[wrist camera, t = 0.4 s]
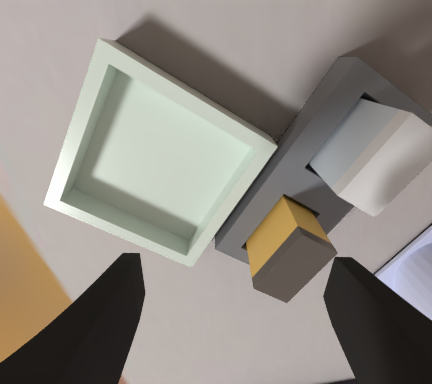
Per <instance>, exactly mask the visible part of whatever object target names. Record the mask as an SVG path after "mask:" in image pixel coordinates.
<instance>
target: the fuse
mask: <svg viewBox="0 0 432 384" xmlns="http://www.w3.org/2000/svg"><path fill="white" fill-rule="evenodd" d="M431 161H432V127H430V126H429V125H428V124H426V123H425V122H424V121H422V120H421V119H420V118H418V117H417V116H416V115H415V114H413V113H411V112H407V111H404V110H400V109H396V108H393V107H389V106H386V105H382V104H379V103H375V102H371V101H368V100H364V99H361V98H359V100H358V101H357V102H356V103H355V105H354V106H353V107H352V108H351V110H350V111H349V112H348V114H347V115H346V116H345V117H344V119H343V120H342V121H341V122H340V124H339V125H338V126H337V127H336V129H335V130H334V131H333V132H332V134H331V135H330V136H329V137H328V139H327V140H326V141H325V143H324V144H323V145H322V146H321V148H320V149H319V150H318V151H317V153H316V154H315V155H314V156H313V158H312V159H311V160H310V161H309V164H310V165H311V167H312V168H313V169H314V170H315V171H316V172H317V173H318V174H319V176H320V177H321V178H322V179H323V180H324V181H325V182H326V183H327V184H328V186H329V187H330V188H331V189H332V190H333V191H334V192H335V193H336V194H337V196H339V197H340V198H342V199H344V200H346V201H347V202H349V203H351V204H352V205H354V206H356V207H357V208H359V209H361V210H363V211H364V212H366V213H368V214H369V215H371V216H373V217H375V216H376V215H377V214H378V213H379V212H381V211H382V210H383V209H384V208H385V207H386V206H387V205H388V204H389V203H390V202H391V201H392V200H393V199H394V198H395V197H396V196H397V195H398V194H399V193H400V192H401V191H402V190H403V189H404V188H405V187H406V186H407V185H408V184H409V183H410V182H411V181H412V180H413V179H414V178H415V177H416V176H417V175H418V174H419V173H420V172H421V171H422V170H423V169H424V168H425V167H426V166H427V165H428V164H429V163H430V162H431Z"/></svg>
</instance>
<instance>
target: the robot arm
mask: <svg viewBox="0 0 432 384" xmlns="http://www.w3.org/2000/svg"><path fill="white" fill-rule="evenodd" d="M144 297H145V287H144V280H143V273H142V266H141V259H140V253H123V254H122V255H120V256H119V257H118V258H117V259H116V260H115V261H114V263H113V264H112V265H111V266H110V267H109V268H108V269H107V270H106V271H105V272H104V273H103V274H102V275H101V276H100V277H99V278H98V279H97V280H96V281H95V282H94V283H93V284H92V285H91V286H90V287H89V288H88V289H87V290H86V291H85V292H84V293H83V294H82V295H81V296H80V297H79V298H78V299H76V300H75V301H74V302H73V303H72V304H71V305H70V306H69V307H68V308H67V309H66V310H64V312H62V313H61V314H60V315H59V316H58V317H57V318H56V319H54V320H53V321H52V322H51V323H50V324H49V325H48V326H46V327H45V328H44V329H43V330H42V331H40V332H39V333H38V334H37V335H36V336H34V337H33V338H32V339H31V340H29V341H28V342H27V343H26V344H24V345H23V346H22V347H21V348H19V349H18V350H17V351H16V352H14V353H13V354H12V355H10V356H9V357H8V358H6V359H5V360H4V361H2V362H1V363H0V384H118V383H119V379H120V377H121V374H122V371H123V368H124V365H125V362H126V359H127V356H128V353H129V350H130V347H131V344H132V341H133V338H134V335H135V332H136V330H137V326H138V323H139V320H140V316H141V311H142V307H143V302H144ZM323 297H324V301H325V304H326V308H327V311H328V314H329V317H330V320H331V323H332V326H333V328H334V331H335V333H336V335H337V338H338V340H339V342H340V344H341V347H342V349H343V351H344V353H345V356H346V358H347V360H348V362H349V365H350V367H351V369H352V371H353V374H354V376H355V378H356V380H357V382H358V384H432V225H431V226H430V227H429V228H428V229H427V230H426V231H424V232H423V233H422V234H421V235H420V236H419V237H418V238H416V239H415V240H414V241H413V242H412V243H411V244H409V245H408V246H407V247H406V248H405V249H404V250H402V251H401V252H400V253H399V254H398V255H397V256H396V257H394V258H393V259H392V260H391V261H390V262H389V263H387V264H386V265H385V266H384V267H383V268H382V269H381V270H379V271H378V272H377V273H376V274H375V275H373V274H372V273H371V272H370V271H368V270H367V269H366V268H365V267H363V266H362V265H361V264H360V263H358V262H357V261H356V260H354V259H353V258H352V257H335V258H334V262H333V265H332V268H331V272H330V275H329V279H328V282H327V285H326V289H325V292H324V296H323Z"/></svg>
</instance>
